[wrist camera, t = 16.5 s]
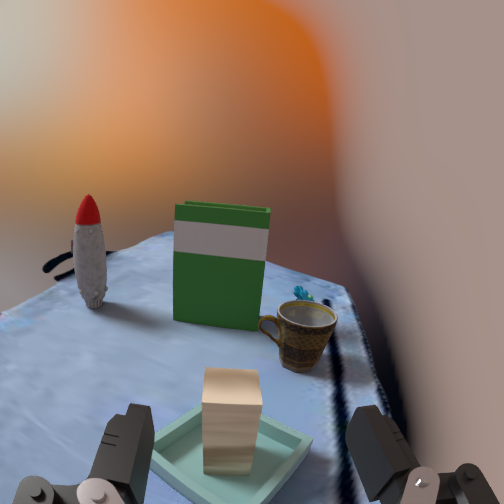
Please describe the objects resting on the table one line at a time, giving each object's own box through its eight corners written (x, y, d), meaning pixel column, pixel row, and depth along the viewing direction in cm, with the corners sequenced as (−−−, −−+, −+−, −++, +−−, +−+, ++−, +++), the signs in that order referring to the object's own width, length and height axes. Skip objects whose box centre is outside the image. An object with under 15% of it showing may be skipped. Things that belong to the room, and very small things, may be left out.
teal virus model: (321, 327, 60) (294, 288, 62) (298, 341, 62) (272, 303, 64) (327, 313, 71) (304, 279, 72) (307, 325, 73) (284, 292, 74)
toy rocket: (82, 296, 65) (77, 192, 58) (113, 298, 66) (110, 192, 60) (72, 310, 58) (64, 196, 51) (105, 313, 59) (99, 196, 53)
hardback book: (173, 320, 61) (175, 204, 55) (182, 305, 68) (186, 200, 62) (257, 331, 60) (270, 212, 54) (259, 315, 67) (270, 208, 61)
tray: (239, 533, 19) (242, 522, 18) (141, 461, 26) (136, 444, 26) (307, 454, 30) (313, 437, 29) (218, 408, 38) (219, 390, 37)
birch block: (249, 475, 26) (262, 404, 23) (203, 474, 25) (201, 402, 22) (247, 443, 31) (257, 369, 28) (205, 442, 30) (205, 367, 27)
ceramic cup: (315, 345, 56) (324, 299, 54) (333, 376, 47) (347, 325, 44) (249, 348, 54) (254, 299, 51) (258, 381, 44) (265, 328, 42)
